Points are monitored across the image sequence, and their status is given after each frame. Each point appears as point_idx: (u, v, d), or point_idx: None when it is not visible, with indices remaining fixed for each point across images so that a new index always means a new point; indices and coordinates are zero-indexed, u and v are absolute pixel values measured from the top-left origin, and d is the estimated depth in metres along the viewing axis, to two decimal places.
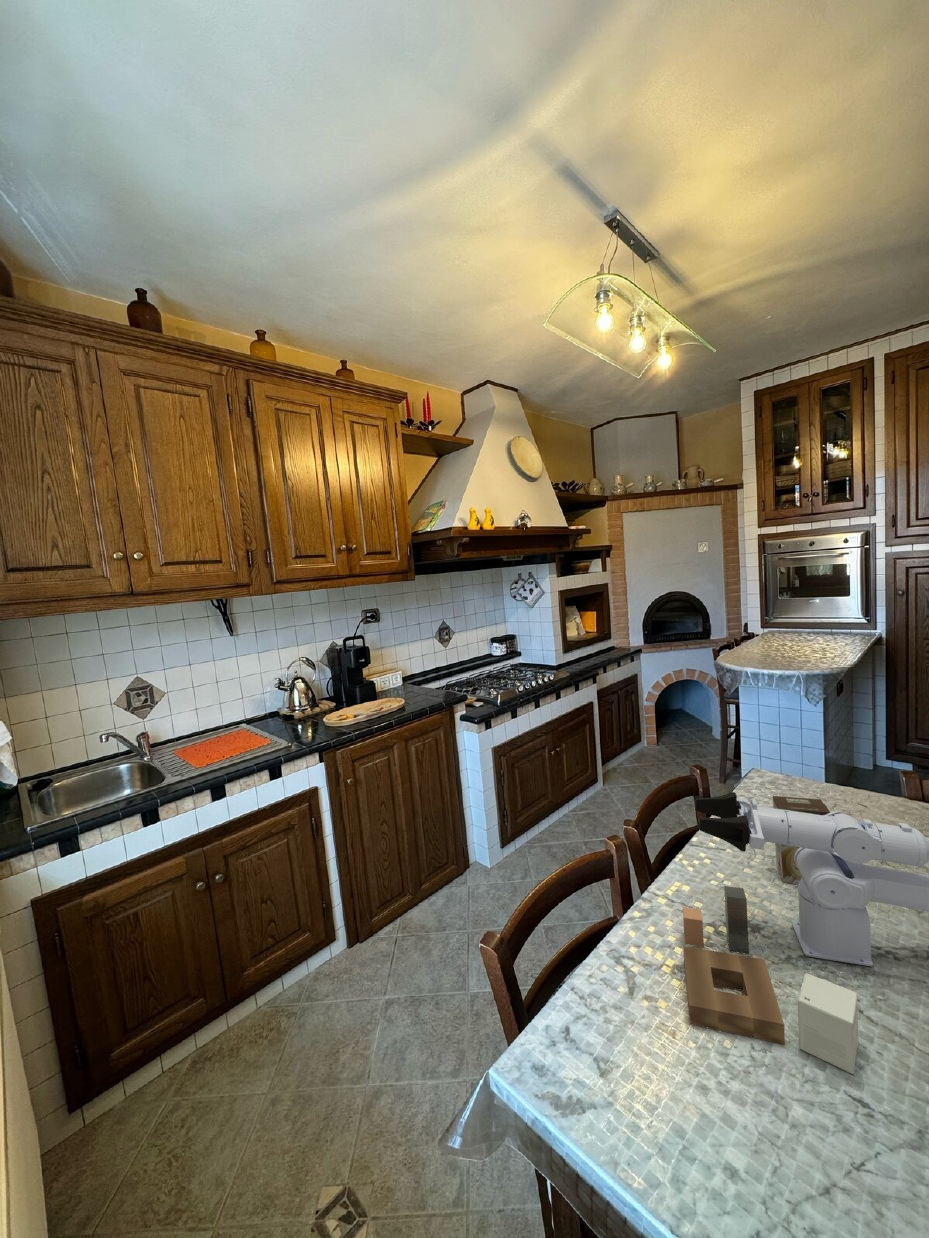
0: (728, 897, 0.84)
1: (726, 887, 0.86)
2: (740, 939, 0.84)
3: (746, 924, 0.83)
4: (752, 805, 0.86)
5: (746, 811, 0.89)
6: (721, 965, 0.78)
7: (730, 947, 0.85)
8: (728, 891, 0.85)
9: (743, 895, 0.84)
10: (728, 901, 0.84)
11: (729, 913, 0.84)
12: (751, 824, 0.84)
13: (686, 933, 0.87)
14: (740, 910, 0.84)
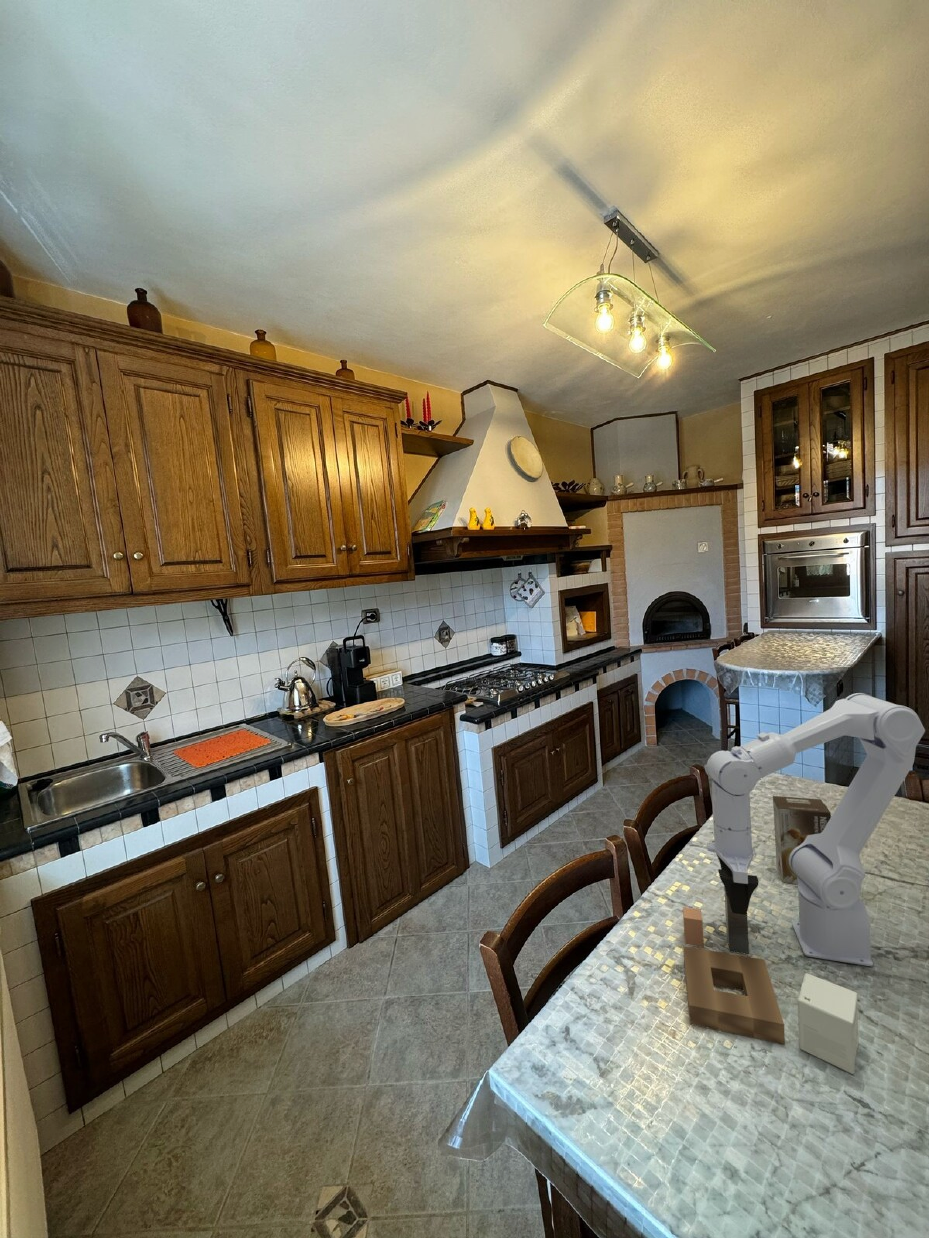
0: None
1: None
2: (740, 939, 0.84)
3: (746, 924, 0.83)
4: None
5: None
6: (721, 965, 0.78)
7: (730, 947, 0.85)
8: None
9: None
10: (728, 901, 0.84)
11: (729, 913, 0.84)
12: None
13: (686, 933, 0.87)
14: None
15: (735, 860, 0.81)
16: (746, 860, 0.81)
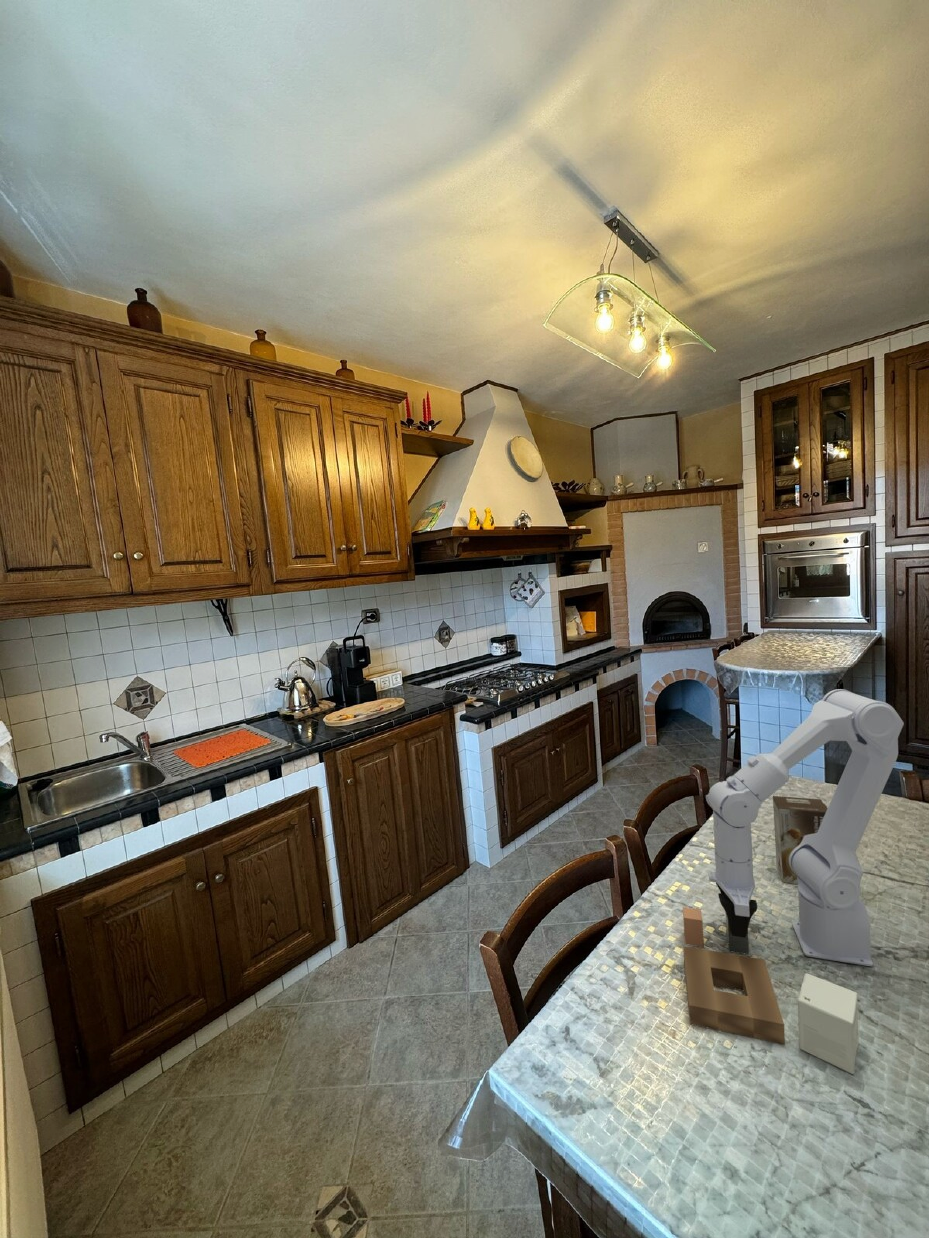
0: None
1: None
2: (740, 939, 0.84)
3: None
4: None
5: None
6: (721, 965, 0.78)
7: (730, 947, 0.85)
8: None
9: None
10: None
11: None
12: (731, 893, 0.83)
13: (686, 933, 0.87)
14: None
15: (737, 892, 0.81)
16: (748, 892, 0.82)
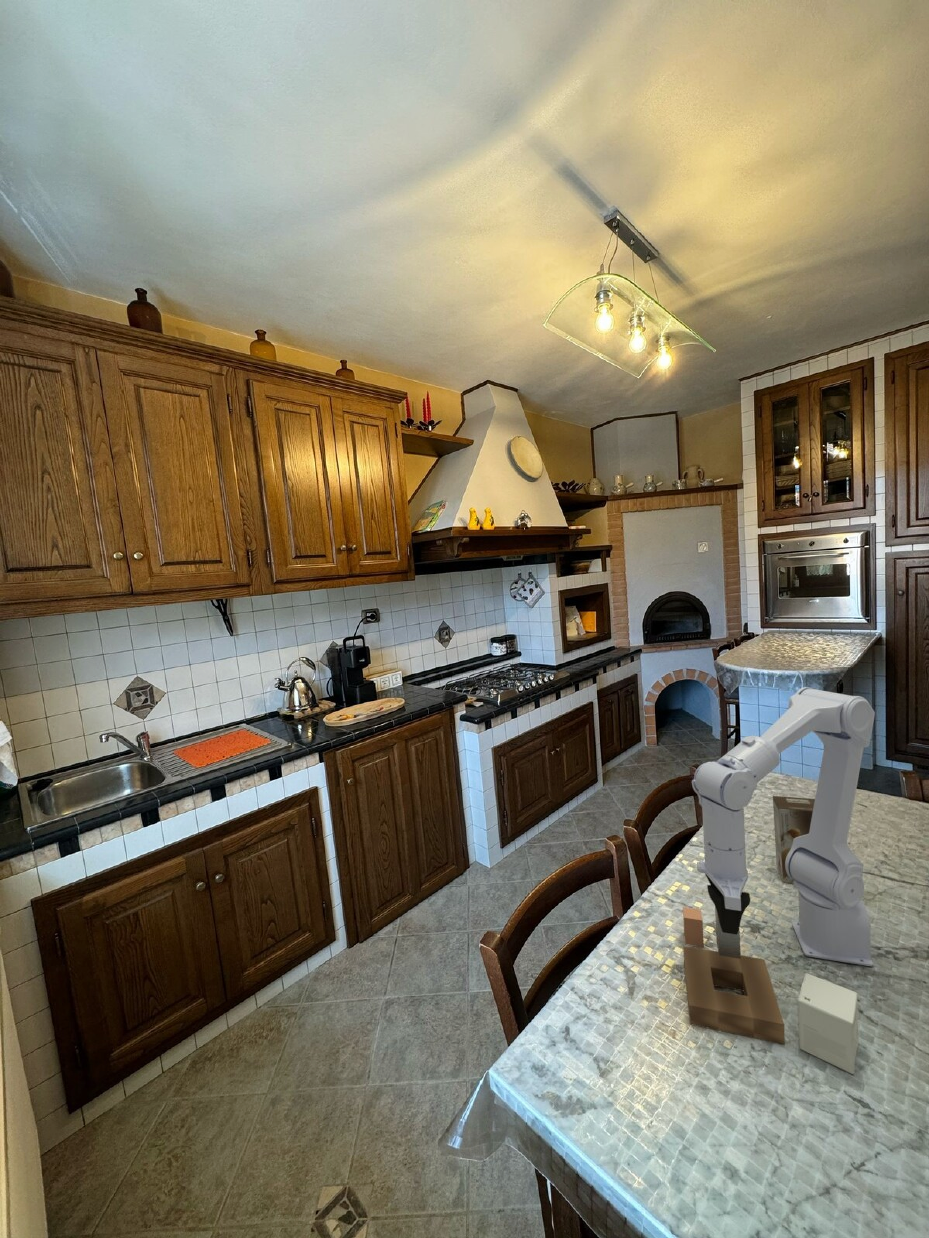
0: None
1: None
2: (731, 942, 0.76)
3: None
4: None
5: None
6: (721, 965, 0.78)
7: (720, 951, 0.76)
8: None
9: None
10: None
11: None
12: (721, 884, 0.74)
13: (686, 933, 0.87)
14: None
15: (727, 883, 0.73)
16: (739, 883, 0.73)
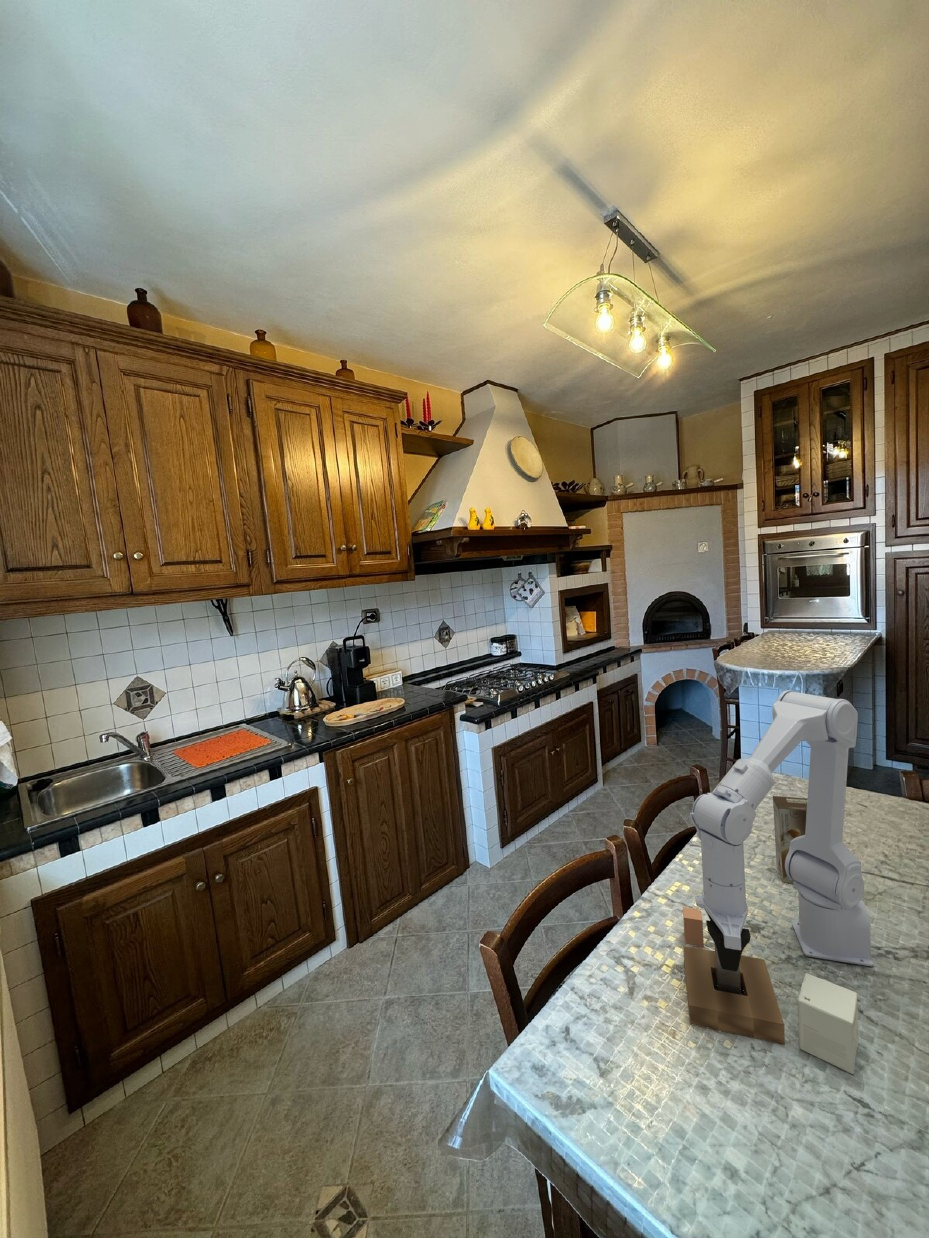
0: None
1: None
2: (731, 981, 0.74)
3: None
4: None
5: None
6: None
7: (720, 990, 0.74)
8: None
9: None
10: None
11: None
12: None
13: (686, 933, 0.87)
14: None
15: (727, 920, 0.71)
16: (739, 920, 0.71)
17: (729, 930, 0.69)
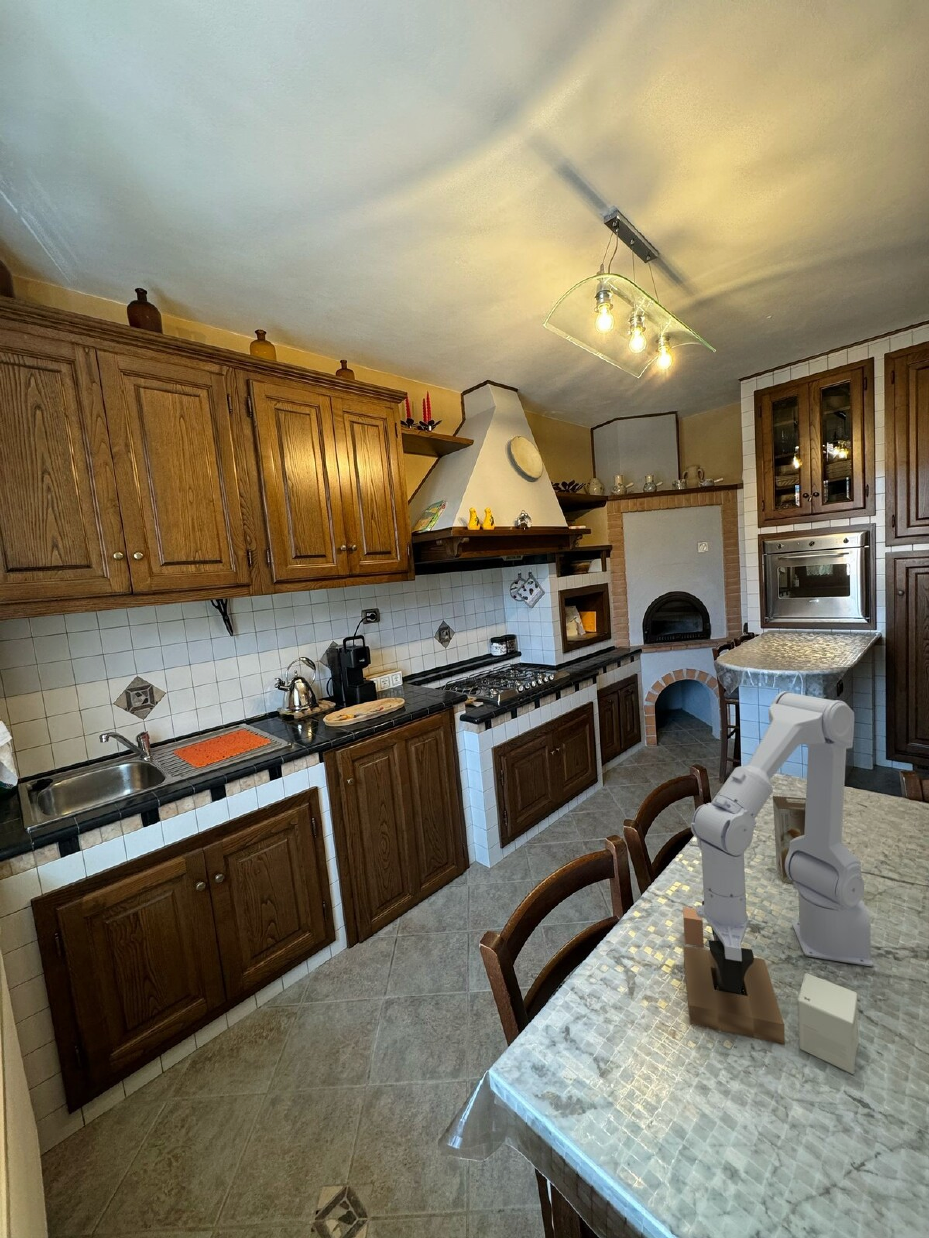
0: None
1: None
2: (732, 992, 0.74)
3: None
4: None
5: None
6: None
7: None
8: (718, 937, 0.75)
9: None
10: None
11: None
12: None
13: (686, 933, 0.87)
14: None
15: (727, 930, 0.71)
16: (740, 930, 0.71)
17: (730, 941, 0.69)
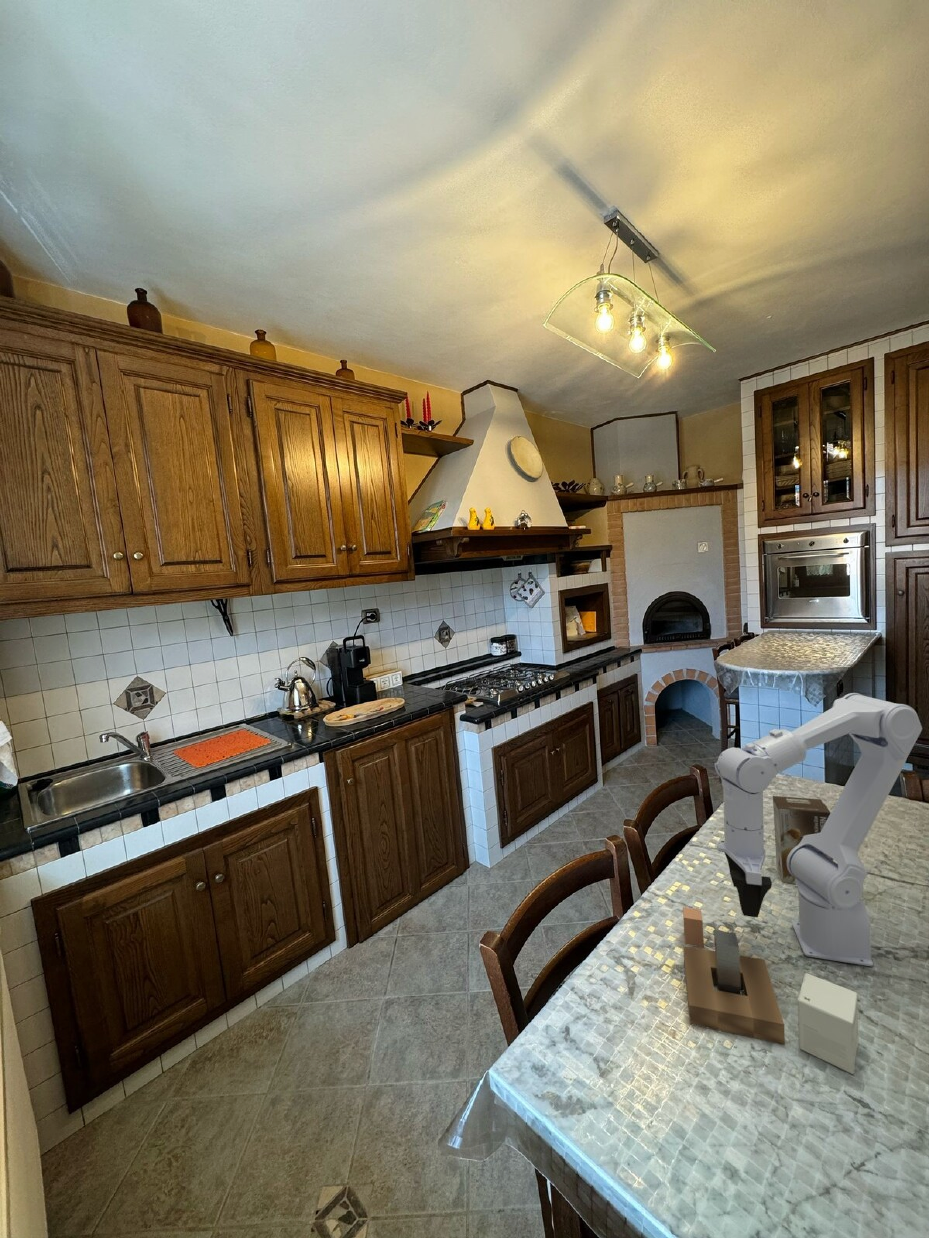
0: (718, 944, 0.74)
1: (716, 931, 0.76)
2: (732, 992, 0.74)
3: (738, 975, 0.73)
4: None
5: None
6: None
7: None
8: (718, 937, 0.75)
9: (735, 942, 0.74)
10: (718, 949, 0.74)
11: (719, 962, 0.74)
12: None
13: (686, 933, 0.87)
14: (732, 960, 0.73)
15: (747, 861, 0.78)
16: (758, 861, 0.78)
17: (750, 868, 0.76)
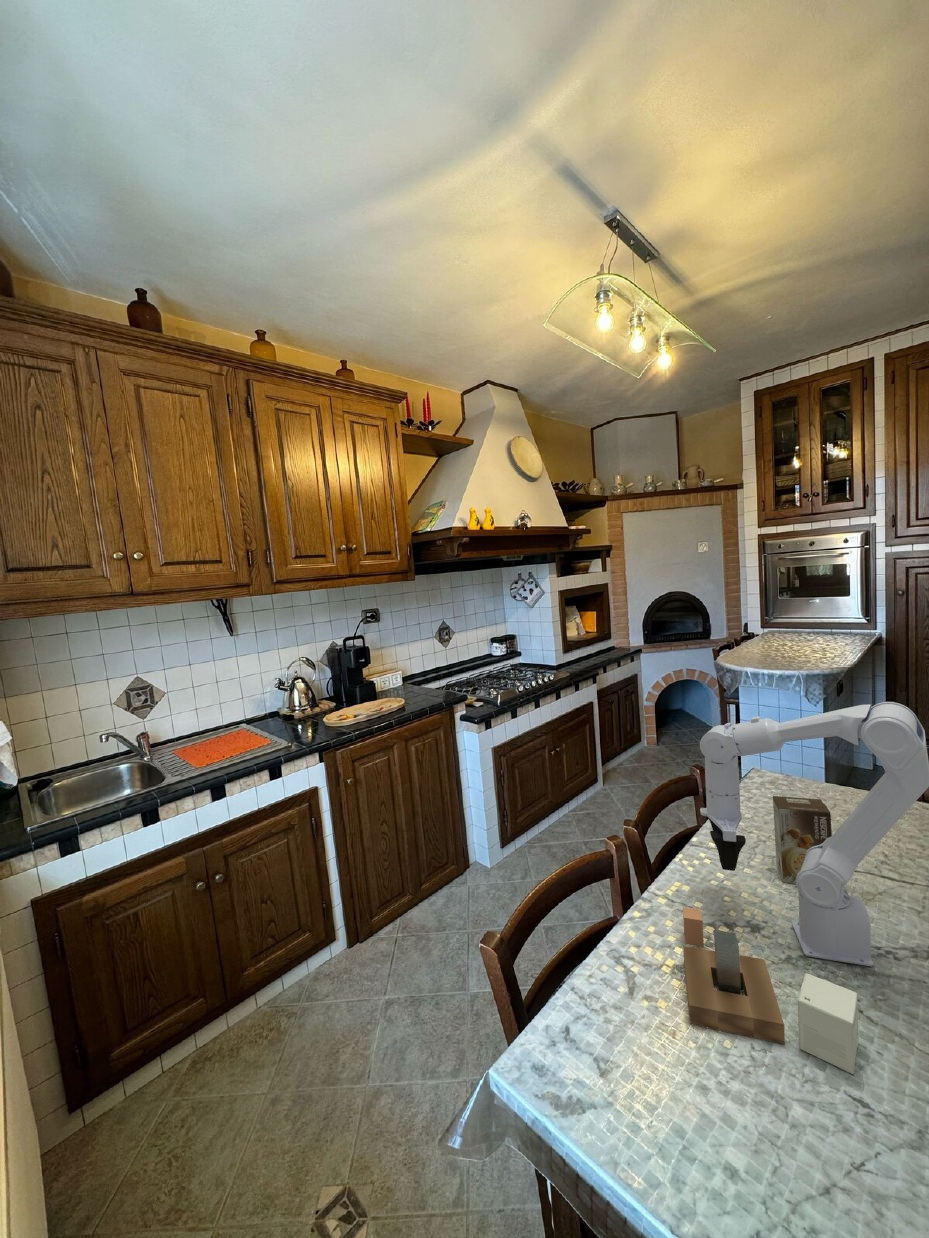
0: (718, 944, 0.74)
1: (716, 931, 0.76)
2: (732, 992, 0.74)
3: (738, 975, 0.73)
4: None
5: None
6: None
7: None
8: (718, 937, 0.75)
9: (735, 942, 0.74)
10: (718, 949, 0.74)
11: (719, 962, 0.74)
12: None
13: (686, 933, 0.87)
14: (731, 960, 0.73)
15: (725, 822, 0.90)
16: (735, 822, 0.90)
17: (727, 828, 0.88)
